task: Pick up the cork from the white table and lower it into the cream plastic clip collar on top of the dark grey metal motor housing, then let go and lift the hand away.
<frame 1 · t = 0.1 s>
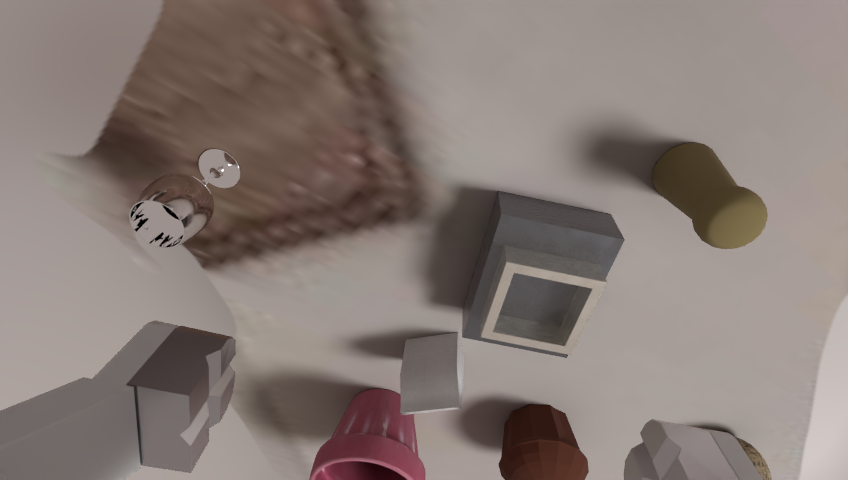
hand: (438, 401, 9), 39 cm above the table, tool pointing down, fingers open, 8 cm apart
decorative egg: (720, 439, 67), on the table
white box: (435, 345, 62), on the table
wineglass: (220, 167, 51), on the table
plant pot: (381, 408, 69), on the table
cork: (683, 171, 47), on the table
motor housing: (531, 265, 54), on the table
muffin: (536, 423, 68), on the table
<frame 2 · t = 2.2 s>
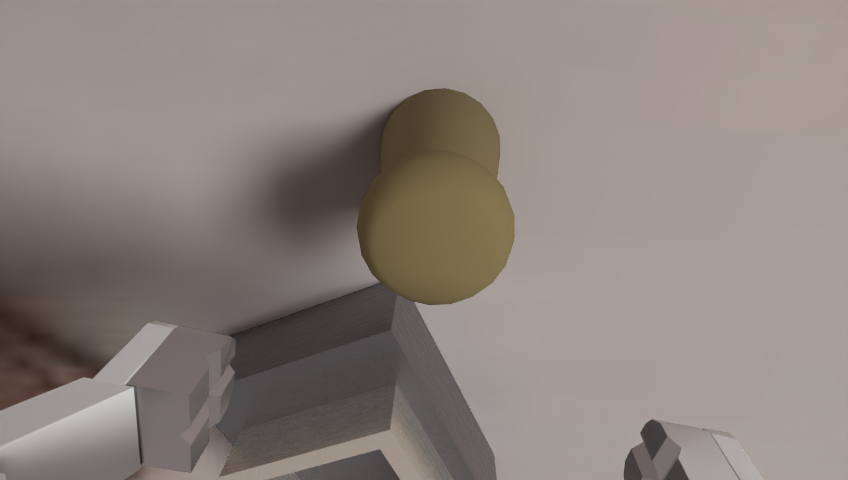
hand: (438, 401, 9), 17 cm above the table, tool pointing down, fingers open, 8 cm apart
cork: (440, 148, 24), on the table
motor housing: (369, 399, 32), on the table
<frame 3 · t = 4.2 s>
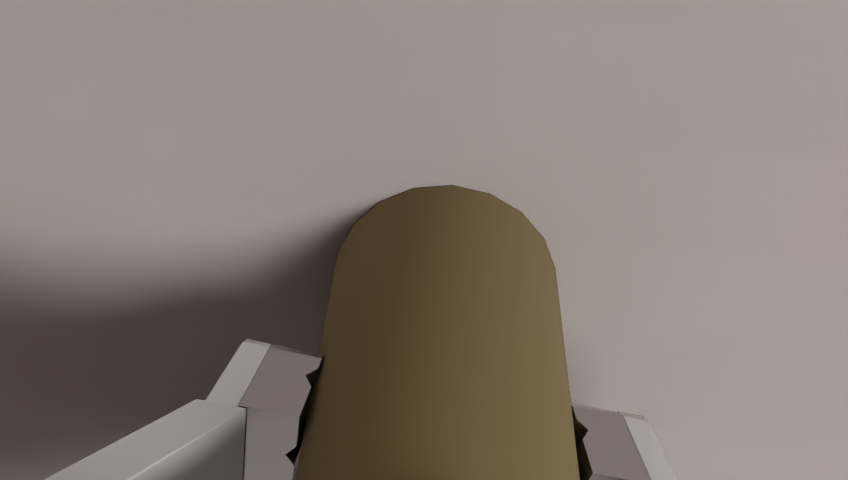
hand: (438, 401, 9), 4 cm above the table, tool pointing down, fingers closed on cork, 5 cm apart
cork: (443, 286, 13), on the table, touching gripper
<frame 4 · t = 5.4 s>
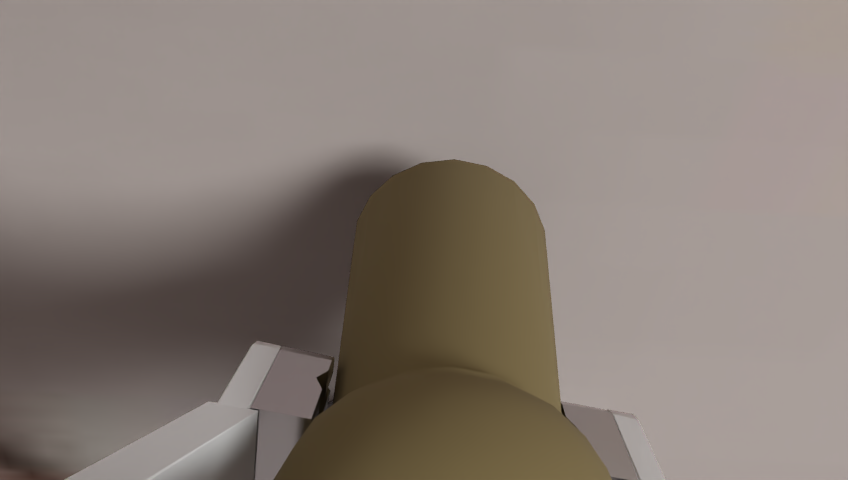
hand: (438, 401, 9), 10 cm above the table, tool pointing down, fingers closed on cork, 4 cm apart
cork: (448, 249, 15), point 3 cm above the table, touching gripper
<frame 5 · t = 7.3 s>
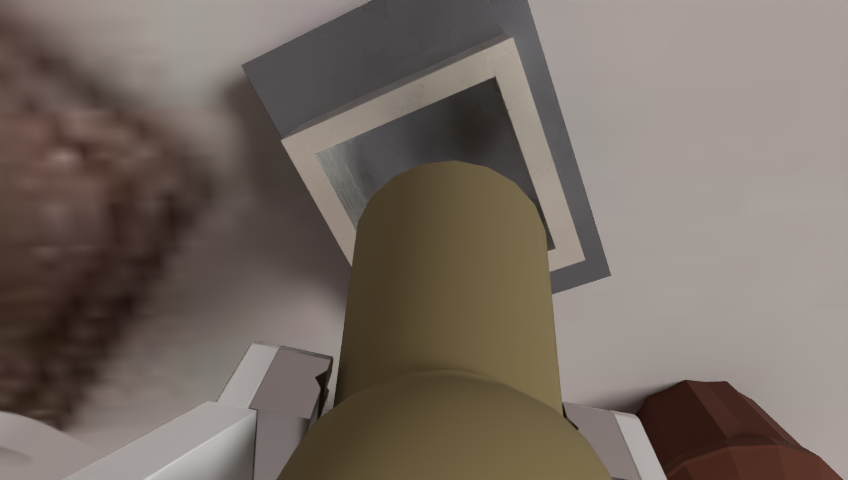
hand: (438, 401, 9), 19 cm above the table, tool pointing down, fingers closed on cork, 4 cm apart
cork: (449, 250, 15), point 13 cm above the table, touching gripper
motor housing: (442, 149, 27), on the table
muffin: (690, 423, 35), on the table
when the fingers open (12 cm above the table, at t = 9.1 s): cork stays where it is, resting on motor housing.
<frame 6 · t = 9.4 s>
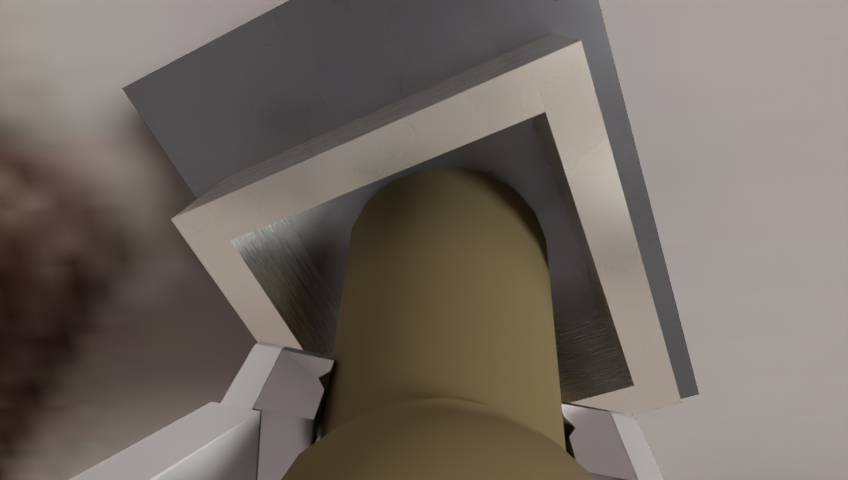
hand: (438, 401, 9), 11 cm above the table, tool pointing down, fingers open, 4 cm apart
cork: (446, 259, 15), point 5 cm above the table, touching gripper, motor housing
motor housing: (446, 199, 19), on the table
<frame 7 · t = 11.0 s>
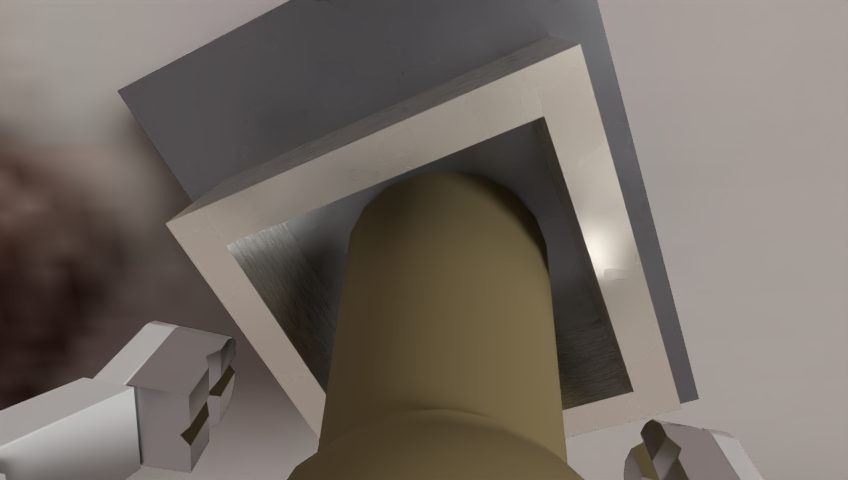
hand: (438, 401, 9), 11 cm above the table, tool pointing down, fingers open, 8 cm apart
cork: (445, 263, 15), point 5 cm above the table, touching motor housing
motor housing: (445, 202, 19), on the table
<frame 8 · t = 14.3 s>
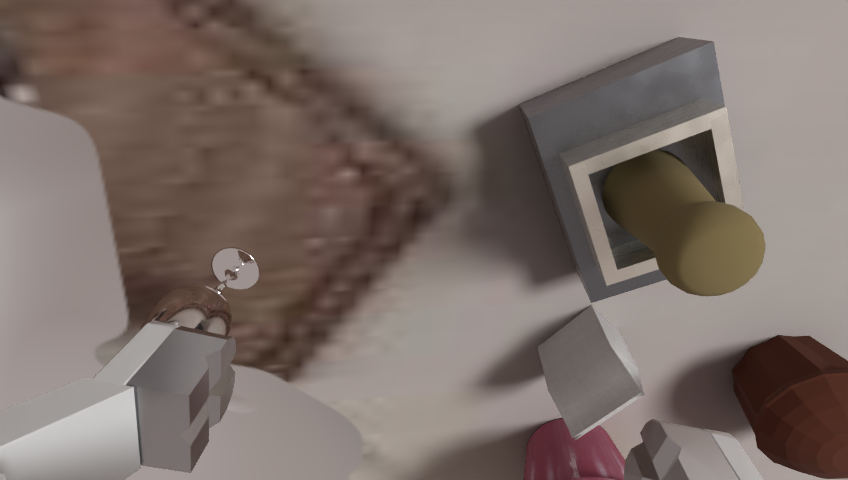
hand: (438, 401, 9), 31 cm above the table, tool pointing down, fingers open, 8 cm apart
white box: (576, 335, 46), on the table
wineglass: (236, 267, 45), on the table
plant pot: (567, 445, 53), on the table
cork: (644, 189, 34), point 5 cm above the table, touching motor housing
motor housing: (622, 167, 39), on the table
muffin: (778, 369, 47), on the table
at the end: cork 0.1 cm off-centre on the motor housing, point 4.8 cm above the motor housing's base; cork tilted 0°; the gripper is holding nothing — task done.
